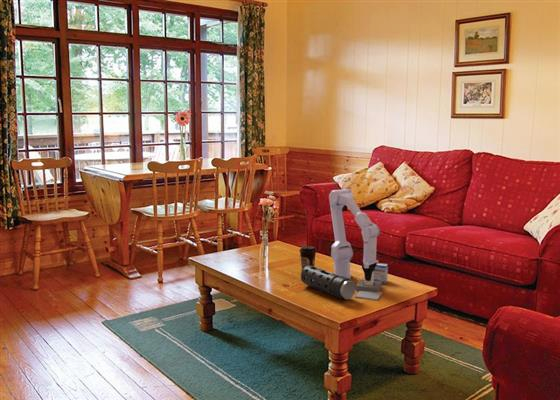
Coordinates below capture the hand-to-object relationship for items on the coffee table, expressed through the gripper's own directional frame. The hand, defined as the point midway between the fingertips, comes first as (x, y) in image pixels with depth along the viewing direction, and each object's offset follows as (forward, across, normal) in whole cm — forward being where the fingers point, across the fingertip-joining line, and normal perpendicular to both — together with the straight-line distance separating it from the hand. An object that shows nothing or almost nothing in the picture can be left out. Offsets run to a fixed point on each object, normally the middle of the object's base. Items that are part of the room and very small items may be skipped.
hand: (369, 279), depth 253 cm
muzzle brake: (+5, -14, +16) cm, 22 cm away
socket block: (+5, 0, 0) cm, 5 cm away
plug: (+3, 0, 0) cm, 3 cm away
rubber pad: (+5, -9, -2) cm, 10 cm away
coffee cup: (+5, +15, +35) cm, 38 cm away
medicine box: (+5, +13, -2) cm, 14 cm away
